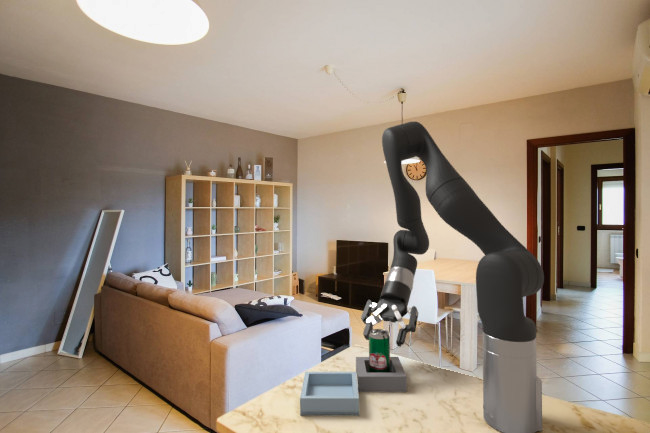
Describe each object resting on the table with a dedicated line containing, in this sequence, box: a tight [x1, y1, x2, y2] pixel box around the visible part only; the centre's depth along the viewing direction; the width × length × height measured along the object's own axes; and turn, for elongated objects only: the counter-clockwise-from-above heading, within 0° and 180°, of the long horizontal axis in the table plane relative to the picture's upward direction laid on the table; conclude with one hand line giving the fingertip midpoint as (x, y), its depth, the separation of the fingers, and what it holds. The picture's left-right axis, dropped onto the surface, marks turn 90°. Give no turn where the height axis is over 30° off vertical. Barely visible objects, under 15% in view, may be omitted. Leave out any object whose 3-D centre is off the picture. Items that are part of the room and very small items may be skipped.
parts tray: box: [299, 371, 360, 417], centre depth 77 cm, size 12×12×4 cm
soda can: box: [368, 328, 391, 373], centre depth 86 cm, size 5×5×12 cm
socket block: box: [355, 356, 408, 393], centre depth 86 cm, size 11×11×4 cm
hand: (382, 341), depth 87 cm, fingers open, 8 cm apart
